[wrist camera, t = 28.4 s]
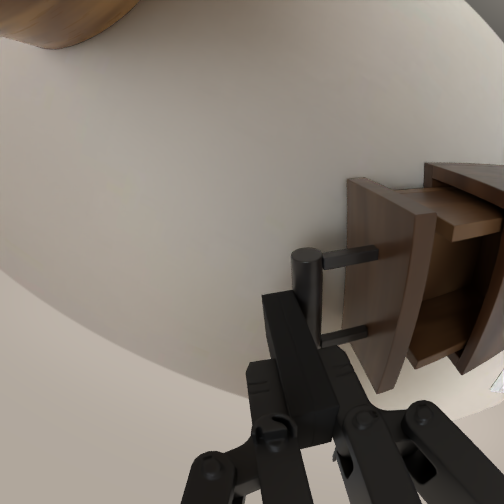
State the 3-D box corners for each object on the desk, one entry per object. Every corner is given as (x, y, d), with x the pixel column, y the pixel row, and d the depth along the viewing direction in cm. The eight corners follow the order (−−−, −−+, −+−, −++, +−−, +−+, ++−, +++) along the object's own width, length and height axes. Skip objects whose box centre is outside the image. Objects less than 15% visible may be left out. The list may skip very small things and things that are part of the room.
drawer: (284, 339, 19) (306, 414, 13) (271, 186, 14) (307, 230, 9) (462, 291, 20) (505, 333, 14) (484, 173, 15) (546, 199, 9)
